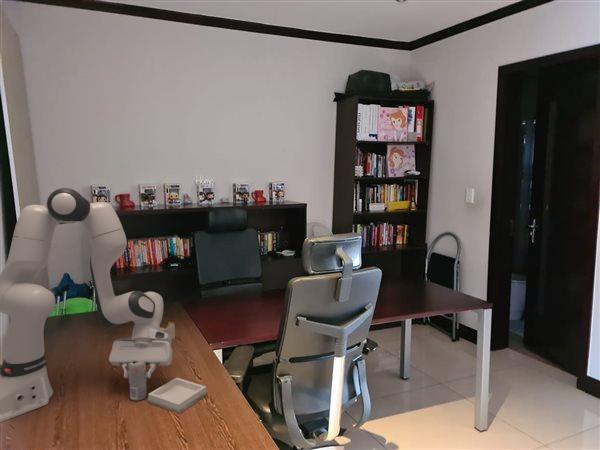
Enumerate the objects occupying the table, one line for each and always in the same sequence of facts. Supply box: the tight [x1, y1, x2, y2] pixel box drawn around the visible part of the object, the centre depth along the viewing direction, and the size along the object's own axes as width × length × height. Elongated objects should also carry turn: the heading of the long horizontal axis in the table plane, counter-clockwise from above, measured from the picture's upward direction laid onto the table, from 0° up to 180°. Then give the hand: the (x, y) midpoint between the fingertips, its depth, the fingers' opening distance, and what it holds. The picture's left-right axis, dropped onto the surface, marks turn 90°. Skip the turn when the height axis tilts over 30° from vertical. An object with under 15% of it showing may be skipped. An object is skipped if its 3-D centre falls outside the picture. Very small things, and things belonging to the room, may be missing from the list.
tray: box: [147, 377, 207, 414], centre depth 151 cm, size 13×13×3 cm
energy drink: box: [127, 360, 148, 402], centre depth 151 cm, size 5×5×12 cm
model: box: [159, 320, 176, 341], centre depth 197 cm, size 3×11×8 cm, turn 161°
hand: (136, 377), depth 150 cm, fingers closed on energy drink, 5 cm apart
